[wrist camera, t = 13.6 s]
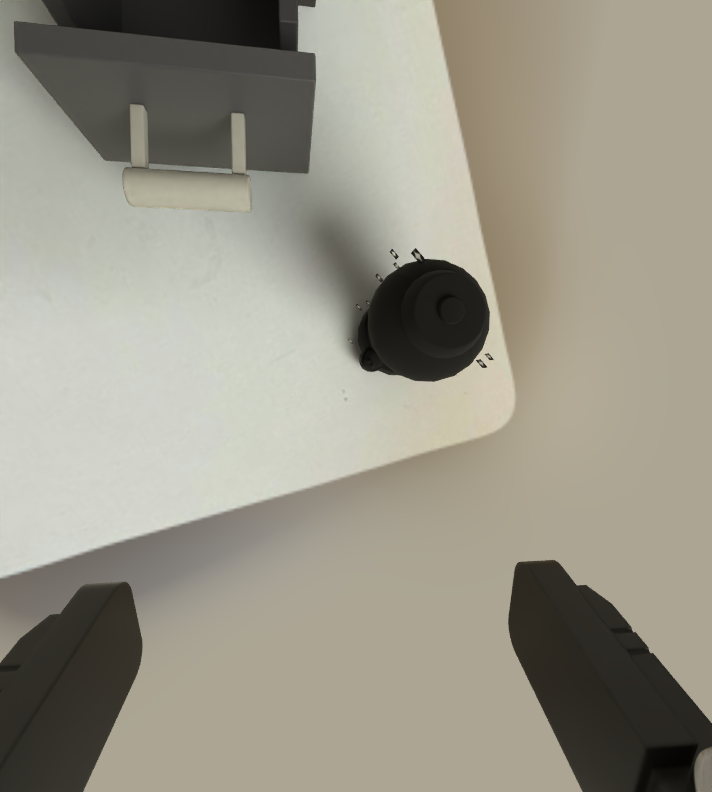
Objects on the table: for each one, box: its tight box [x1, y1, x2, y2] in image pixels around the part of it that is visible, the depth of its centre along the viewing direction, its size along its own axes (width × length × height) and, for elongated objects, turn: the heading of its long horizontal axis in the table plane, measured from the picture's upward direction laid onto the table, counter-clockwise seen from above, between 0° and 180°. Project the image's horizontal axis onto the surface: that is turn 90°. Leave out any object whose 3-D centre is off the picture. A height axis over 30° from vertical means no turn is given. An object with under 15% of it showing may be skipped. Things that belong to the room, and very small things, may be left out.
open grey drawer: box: [14, 0, 316, 212], centre depth 20 cm, size 19×11×8 cm, turn 1°
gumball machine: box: [348, 248, 494, 382], centre depth 22 cm, size 7×6×10 cm
